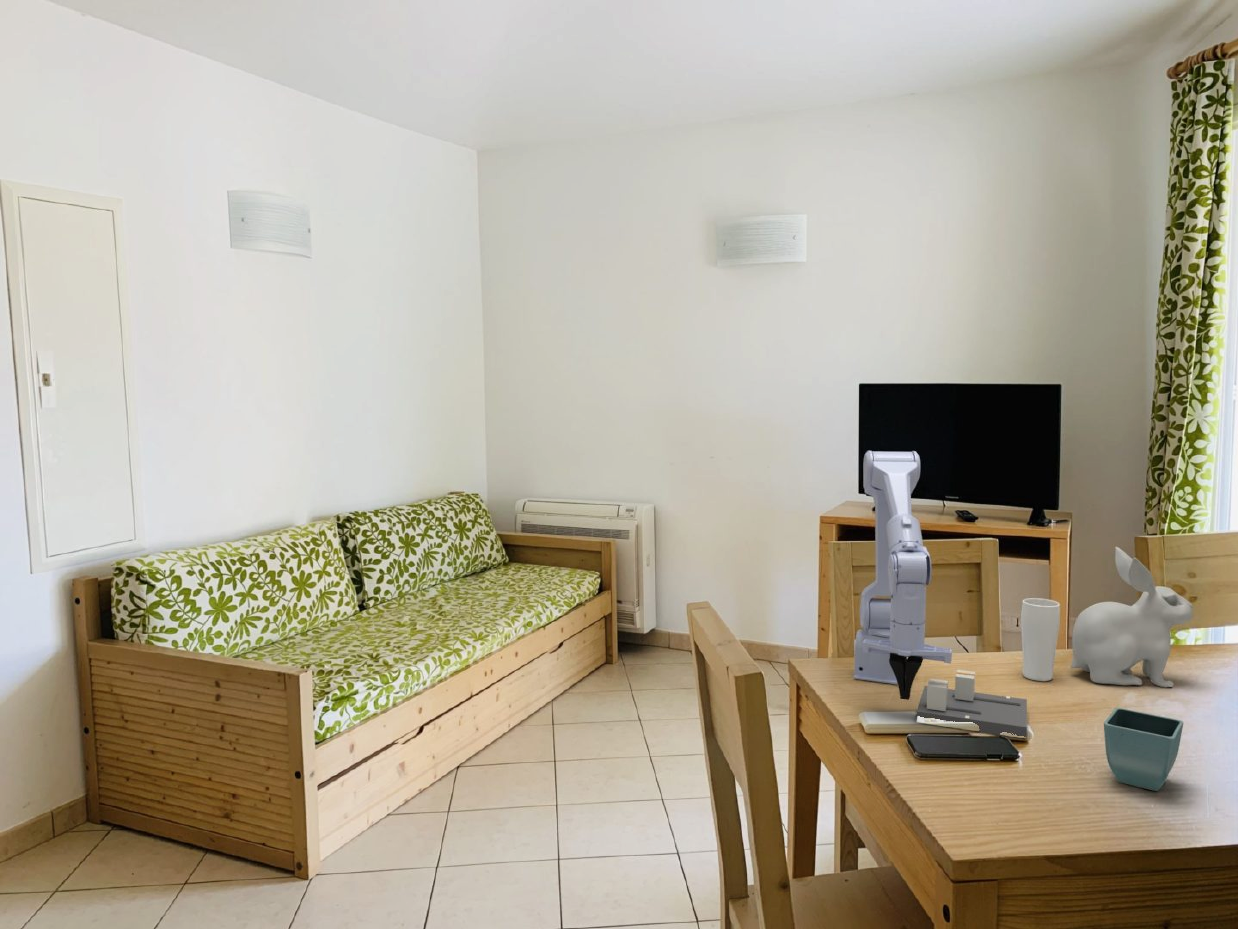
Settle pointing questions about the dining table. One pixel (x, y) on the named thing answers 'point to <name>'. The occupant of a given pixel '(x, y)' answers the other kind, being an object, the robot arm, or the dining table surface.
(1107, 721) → the flower pot
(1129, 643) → the rabbit
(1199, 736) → the dining table surface
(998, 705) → the panel
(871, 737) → the dining table surface
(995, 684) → the dining table surface
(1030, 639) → the drinking glass
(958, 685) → the far fader knob
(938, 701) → the near fader knob
